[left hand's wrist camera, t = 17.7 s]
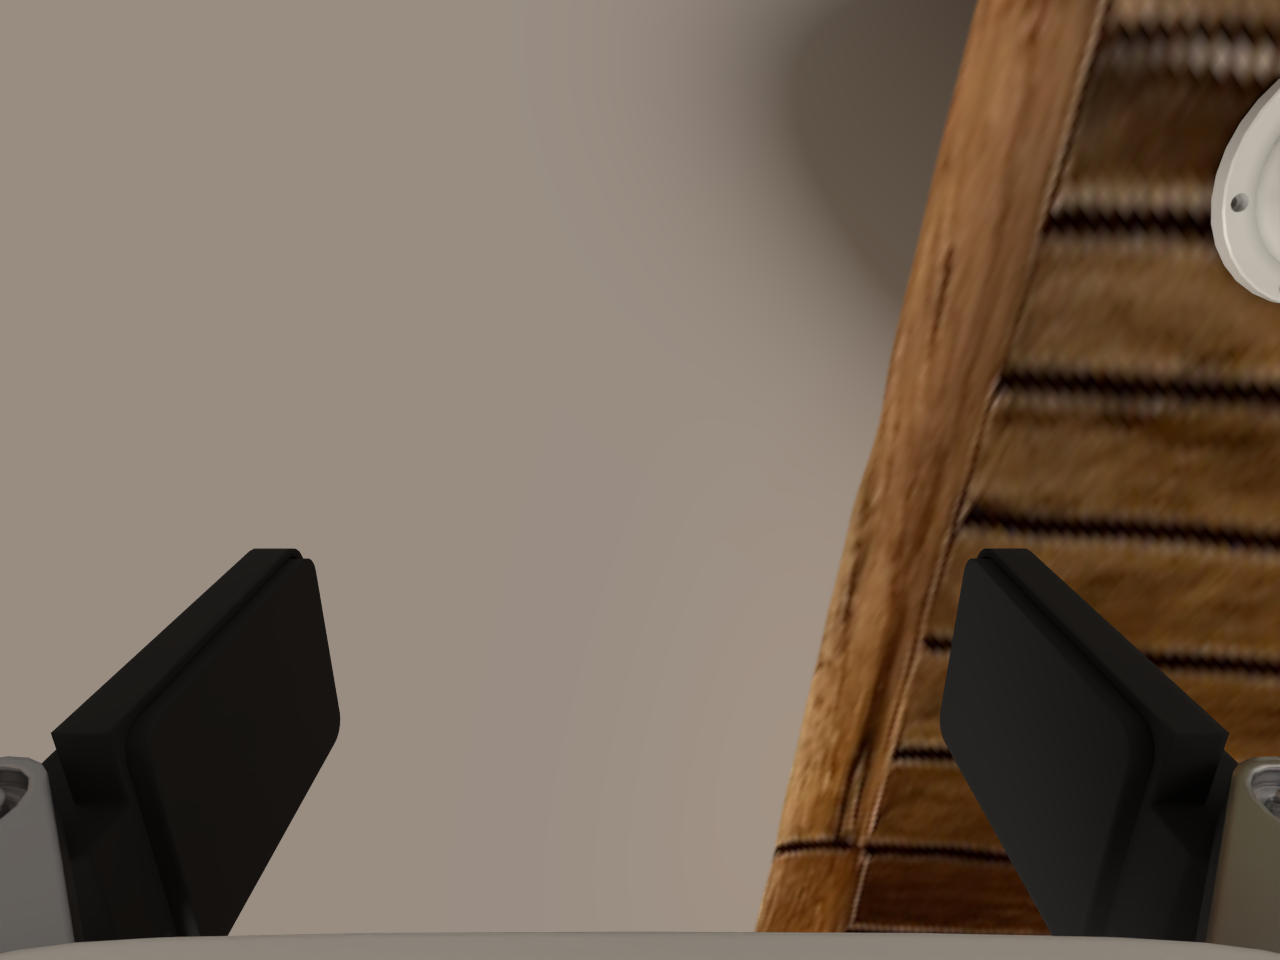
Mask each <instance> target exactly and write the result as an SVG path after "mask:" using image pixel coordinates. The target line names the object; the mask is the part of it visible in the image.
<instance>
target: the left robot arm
mask: <svg viewBox="0 0 1280 960" xmlns="http://www.w3.org/2000/svg"><path fill="white" fill-rule="evenodd" d="M1211 226H1212V231H1213V236H1214V241H1215V246H1216V248H1217V251H1218V253H1219V255H1220V257H1221V260H1222V262H1223V264H1224V266H1225V267H1226V268H1227V270H1228V271H1229V272H1230V273H1231V275H1232V276H1233V277H1234V279H1235V280H1236V281H1237V282H1238V283H1240V284H1241V285H1242V286H1243V287H1245V288H1246V289H1247V290H1249V291H1250V292H1251V293H1253V294H1255V295H1257V296H1259V297H1262V298H1264V299H1266V300H1268V301H1271V302H1276V303H1280V79H1278V80H1277V81H1276V82H1275V83H1274V84H1273V85H1272V86H1271V87H1270V88H1269V89H1268V90H1267V91H1266V92H1265V93H1264V94H1263V95H1262V96H1261V97H1260V98H1259V99H1258V100H1257V101H1256V103H1255V104H1254V105H1253V107H1252V108H1251V109H1250V111H1249V112H1248V113H1247V115H1246V116H1245V117H1244V118H1243V120H1242V121H1241V122H1240V124H1239V126H1238V127H1237V129H1236V131H1235V133H1234V135H1233V136H1232V138H1231V140H1230V142H1229V144H1228V145H1227V147H1226V149H1225V152H1224V155H1223V157H1222V160H1221V163H1220V165H1219V168H1218V171H1217V173H1216V178H1215V183H1214V188H1213V193H1212V198H1211ZM339 727H340V712H339V706H338V700H337V694H336V688H335V682H334V676H333V670H332V664H331V658H330V652H329V646H328V641H327V635H326V629H325V623H324V617H323V611H322V605H321V599H320V593H319V587H318V581H317V575H316V570H315V566H314V564H313V562H312V560H310V559H303V557H302V555H301V554H300V552H299V551H298V550H297V549H253V550H251V551H249V552H248V553H247V554H246V555H245V556H244V557H243V558H242V559H241V560H239V561H238V562H237V563H236V564H235V565H234V566H233V567H232V568H231V569H230V570H229V571H227V572H226V573H225V574H224V575H223V576H222V577H221V578H220V579H219V580H218V581H217V582H215V583H214V584H213V585H212V586H211V587H210V588H209V589H208V590H207V591H206V592H204V593H203V594H202V595H201V596H200V597H199V598H198V599H197V600H196V601H195V602H194V603H193V604H191V605H190V606H189V607H188V608H187V609H186V610H185V611H184V612H183V613H182V614H181V615H179V616H178V617H177V618H176V619H175V620H174V621H173V622H172V623H171V624H170V625H168V626H167V627H166V628H165V629H164V630H163V631H162V632H161V633H160V634H159V635H158V636H157V637H155V638H154V639H153V640H152V641H151V642H150V643H149V644H148V645H147V646H146V647H144V648H143V649H142V650H141V651H140V652H139V653H138V654H137V655H136V656H135V657H134V658H132V659H131V660H130V661H129V662H128V663H127V664H126V665H125V666H124V667H123V668H122V669H120V670H119V671H118V672H117V673H116V674H115V675H114V676H113V677H112V678H111V679H110V680H108V681H107V682H106V683H105V684H104V685H103V686H102V687H101V688H100V689H99V690H97V691H96V692H95V693H94V694H93V695H92V696H91V697H90V698H89V699H88V700H87V701H85V702H84V703H83V704H82V705H81V706H80V707H79V708H78V709H77V710H76V711H75V712H74V713H72V714H71V715H70V716H69V717H68V718H67V719H66V720H65V721H64V722H63V723H61V724H60V725H59V726H58V727H57V728H56V729H55V730H54V731H53V732H52V733H51V735H52V738H53V741H54V744H55V747H56V750H55V751H54V752H53V753H52V754H51V755H50V756H49V757H48V758H47V759H46V760H45V761H44V762H43V763H39V762H37V761H35V760H32V759H30V758H26V757H10V756H8V757H0V960H1280V757H1272V756H1270V757H1254V758H1250V759H1247V760H1245V761H1243V762H1241V763H1237V762H1236V761H1235V760H1234V759H1233V758H1232V757H1231V756H1230V755H1229V754H1228V753H1227V752H1226V751H1225V750H1224V747H1225V744H1226V741H1227V738H1228V735H1229V733H1228V732H1227V731H1226V730H1225V729H1224V728H1223V727H1222V726H1221V725H1220V724H1219V723H1217V722H1216V721H1215V720H1214V719H1213V718H1212V717H1211V716H1210V715H1209V714H1208V713H1207V712H1205V711H1204V710H1203V709H1202V708H1201V707H1200V706H1199V705H1198V704H1197V703H1196V702H1195V701H1193V700H1192V699H1191V698H1190V697H1189V696H1188V695H1187V694H1186V693H1185V692H1184V691H1183V690H1181V689H1180V688H1179V687H1178V686H1177V685H1176V684H1175V683H1174V682H1173V681H1172V680H1170V679H1169V678H1168V677H1167V676H1166V675H1165V674H1164V673H1163V672H1162V671H1161V670H1160V669H1158V668H1157V667H1156V666H1155V665H1154V664H1153V663H1152V662H1151V661H1150V660H1149V659H1148V658H1146V657H1145V656H1144V655H1143V654H1142V653H1141V652H1140V651H1139V650H1138V649H1137V648H1136V647H1134V646H1133V645H1132V644H1131V643H1130V642H1129V641H1128V640H1127V639H1126V638H1125V637H1124V636H1122V635H1121V634H1120V633H1119V632H1118V631H1117V630H1116V629H1115V628H1114V627H1113V626H1112V625H1110V624H1109V623H1108V622H1107V621H1106V620H1105V619H1104V618H1103V617H1102V616H1101V615H1100V614H1098V613H1097V612H1096V611H1095V610H1094V609H1093V608H1092V607H1091V606H1090V605H1089V604H1088V603H1086V602H1085V601H1084V600H1083V599H1082V598H1081V597H1080V596H1079V595H1078V594H1077V593H1076V592H1074V591H1073V590H1072V589H1071V588H1070V587H1069V586H1068V585H1067V584H1066V583H1065V582H1063V581H1062V580H1061V579H1060V578H1059V577H1058V576H1057V575H1056V574H1055V573H1054V572H1053V571H1051V570H1050V569H1049V568H1048V567H1047V566H1046V565H1045V564H1044V563H1043V562H1042V561H1041V560H1039V559H1038V558H1037V557H1036V556H1035V555H1034V554H1033V553H1032V552H1031V551H1029V550H1027V549H983V550H982V551H981V552H980V553H979V555H978V557H977V559H970V560H968V562H967V564H966V566H965V570H964V575H963V581H962V587H961V593H960V599H959V605H958V611H957V617H956V623H955V629H954V635H953V640H952V646H951V652H950V658H949V664H948V670H947V676H946V682H945V688H944V694H943V700H942V706H941V712H940V727H941V733H942V736H943V739H944V741H945V743H946V745H947V747H948V749H949V750H950V752H951V754H952V756H953V758H954V759H955V761H956V763H957V765H958V767H959V768H960V770H961V772H962V774H963V776H964V777H965V779H966V781H967V783H968V785H969V786H970V788H971V790H972V792H973V794H974V795H975V797H976V799H977V801H978V803H979V804H980V806H981V808H982V810H983V812H984V813H985V815H986V817H987V819H988V821H989V822H990V824H991V826H992V828H993V830H994V831H995V833H996V835H997V837H998V839H999V840H1000V842H1001V844H1002V846H1003V848H1004V849H1005V851H1006V853H1007V855H1008V857H1009V858H1010V860H1011V862H1012V864H1013V866H1014V867H1015V869H1016V871H1017V873H1018V875H1019V876H1020V878H1021V880H1022V882H1023V884H1024V885H1025V887H1026V889H1027V891H1028V893H1029V894H1030V896H1031V898H1032V900H1033V902H1034V903H1035V905H1036V907H1037V909H1038V911H1039V912H1040V914H1041V916H1042V918H1043V920H1044V921H1045V923H1046V925H1047V927H1048V929H1049V930H1050V932H1051V934H1052V936H1030V935H980V934H930V933H788V932H495V933H493V932H492V933H350V934H300V935H250V936H228V934H229V932H230V930H231V929H232V927H233V925H234V923H235V921H236V920H237V918H238V916H239V914H240V912H241V911H242V909H243V907H244V905H245V903H246V902H247V900H248V898H249V896H250V894H251V893H252V891H253V889H254V887H255V885H256V884H257V882H258V880H259V878H260V876H261V875H262V873H263V871H264V869H265V867H266V866H267V864H268V862H269V860H270V858H271V857H272V855H273V853H274V851H275V849H276V848H277V846H278V844H279V842H280V840H281V839H282V837H283V835H284V833H285V831H286V830H287V828H288V826H289V824H290V822H291V821H292V819H293V817H294V815H295V813H296V812H297V810H298V808H299V806H300V804H301V803H302V801H303V799H304V797H305V795H306V794H307V792H308V790H309V788H310V786H311V785H312V783H313V781H314V779H315V777H316V776H317V774H318V772H319V770H320V768H321V767H322V765H323V763H324V761H325V759H326V758H327V756H328V754H329V752H330V750H331V749H332V747H333V745H334V743H335V741H336V739H337V736H338V733H339Z"/></svg>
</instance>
